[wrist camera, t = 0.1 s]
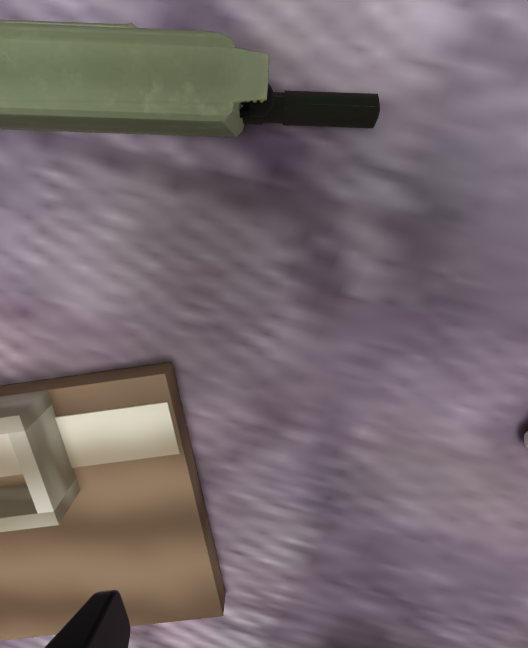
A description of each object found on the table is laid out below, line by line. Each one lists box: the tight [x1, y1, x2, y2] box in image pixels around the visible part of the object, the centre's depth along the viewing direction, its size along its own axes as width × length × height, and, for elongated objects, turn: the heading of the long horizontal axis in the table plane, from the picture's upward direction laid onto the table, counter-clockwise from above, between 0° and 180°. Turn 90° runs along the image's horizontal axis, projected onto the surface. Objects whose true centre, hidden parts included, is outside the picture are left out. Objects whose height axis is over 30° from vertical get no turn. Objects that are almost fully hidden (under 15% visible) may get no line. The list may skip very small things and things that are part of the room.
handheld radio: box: [0, 20, 380, 137], centre depth 16 cm, size 7×3×25 cm
